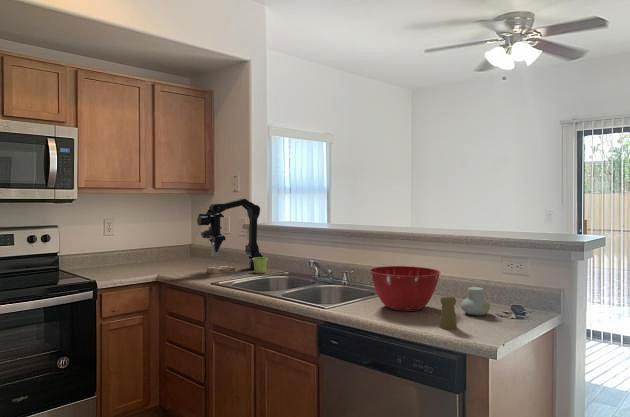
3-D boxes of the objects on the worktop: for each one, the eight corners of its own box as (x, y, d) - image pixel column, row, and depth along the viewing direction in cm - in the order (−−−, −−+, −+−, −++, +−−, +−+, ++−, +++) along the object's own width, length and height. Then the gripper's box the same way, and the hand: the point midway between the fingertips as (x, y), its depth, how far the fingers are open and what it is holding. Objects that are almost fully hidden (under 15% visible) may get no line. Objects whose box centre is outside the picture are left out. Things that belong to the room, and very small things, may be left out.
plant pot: (271, 272, 290) (271, 258, 289) (261, 274, 282) (261, 259, 281) (259, 271, 295) (259, 256, 294) (248, 273, 287) (248, 258, 286)
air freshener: (473, 309, 197) (473, 285, 197) (492, 313, 191) (492, 288, 191) (458, 314, 190) (458, 288, 190) (478, 318, 184) (478, 291, 184)
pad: (242, 272, 290) (242, 271, 290) (248, 274, 282) (248, 273, 282) (228, 273, 285) (228, 272, 285) (233, 276, 278) (233, 275, 278)
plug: (217, 255, 289) (217, 241, 289) (219, 256, 286) (219, 242, 286) (211, 255, 287) (211, 242, 287) (213, 256, 284) (213, 242, 284)
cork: (453, 324, 175) (454, 294, 175) (459, 329, 169) (459, 297, 168) (437, 324, 175) (437, 294, 174) (441, 329, 169) (442, 297, 168)
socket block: (229, 270, 297) (229, 265, 297) (235, 273, 288) (235, 267, 288) (206, 272, 290) (206, 266, 290) (211, 274, 281) (211, 269, 281)
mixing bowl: (385, 297, 221) (385, 263, 220) (448, 304, 206) (449, 268, 206) (358, 310, 197) (358, 271, 196) (427, 319, 182) (427, 278, 181)
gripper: (197, 224, 291) (197, 250, 291) (206, 226, 274) (206, 254, 275) (215, 224, 296) (215, 249, 296) (225, 225, 280) (225, 253, 280)
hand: (215, 251), depth 287 cm, fingers closed on plug, 4 cm apart
